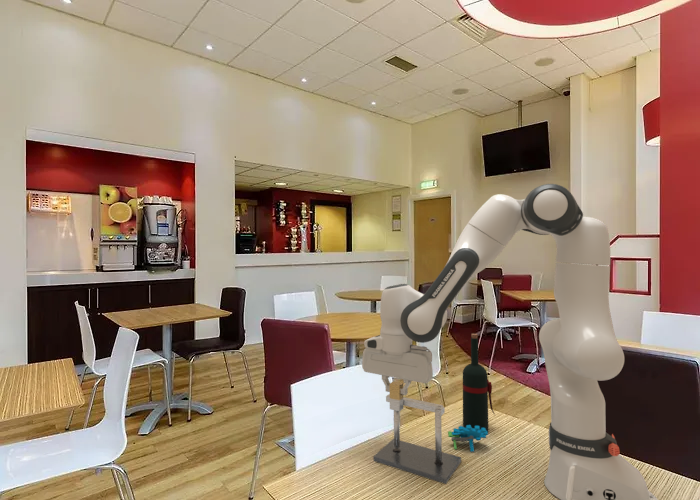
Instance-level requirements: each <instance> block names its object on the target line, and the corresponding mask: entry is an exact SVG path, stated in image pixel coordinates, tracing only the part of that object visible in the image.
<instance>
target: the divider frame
mask: <svg viewBox="0 0 700 500" xmlns="http://www.w3.org/2000/svg"><path fill="white" fill-rule="evenodd" d="M385 401H386V402H387V403H390V393H389V394H387V395H386V396H385ZM404 406H405V407H408V408H410V407H411V408H413V409H419V410H424V411H427V412H432V413H434V436H435V437H434V438H435V439H434V441H435V442H434V445H435V448H434V450H435V463H436V464H438V465H440V464H442V452H443V451H442V449H443V447H442V444H443V442H442V416H443V415H444V414H445V413H446V411H445V410H446V409H445V406H444V405H443V404H438V403H434V402H429V401H424V400H421V399H414V398H409V397H405V396H403V407H404Z"/></svg>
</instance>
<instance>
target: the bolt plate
mask: <svg viewBox="0 0 700 500" xmlns="http://www.w3.org/2000/svg"><path fill="white" fill-rule="evenodd" d="M373 462H376V463H379V464H382V465H385V466H389V467H392V468H394V469H397V470H401V471H404V472H407V473H411V474H413V475H416V476H420V477H423V478H426V479H429V480H432V481H435V482H439V483H441V484H445V485H447V483H448V481H449V480H450V478H451V477H452V475H454V473H455V471H456V470H457V469H458V467H459V466H460V464H461V462H462V457H461V456H457V455H454V454H451V453H447V452H443V451H442V464H440V465H438V464H436V463H435V449H432V448H428V447H427V446H426V447H425V446H421V445H418V444H414V443H411V442H407V441H405V440H404V441H403V440H400V447H399V448H398V449H396V448H395V447H394V438H392V439H391V440H390V441H389V442H388V443H387V444H386V445H385V446H383V448H381V449H380V450H379V451H377V452H376V453H375V455H373Z"/></svg>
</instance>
